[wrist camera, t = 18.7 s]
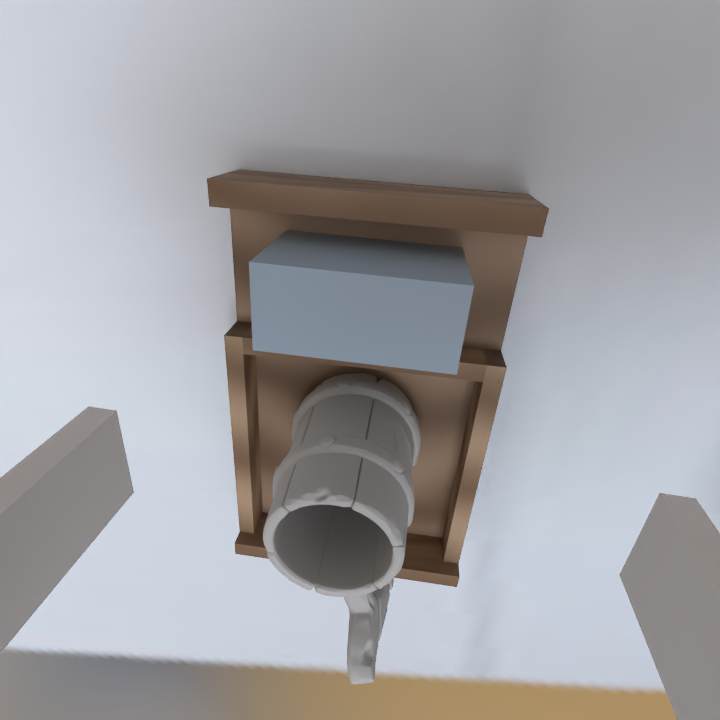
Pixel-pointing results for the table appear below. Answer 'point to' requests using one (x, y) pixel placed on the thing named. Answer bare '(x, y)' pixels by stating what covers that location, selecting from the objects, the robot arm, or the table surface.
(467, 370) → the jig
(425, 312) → the blue-grey rectangular block
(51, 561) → the robot arm
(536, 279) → the table surface
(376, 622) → the mug
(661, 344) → the table surface
